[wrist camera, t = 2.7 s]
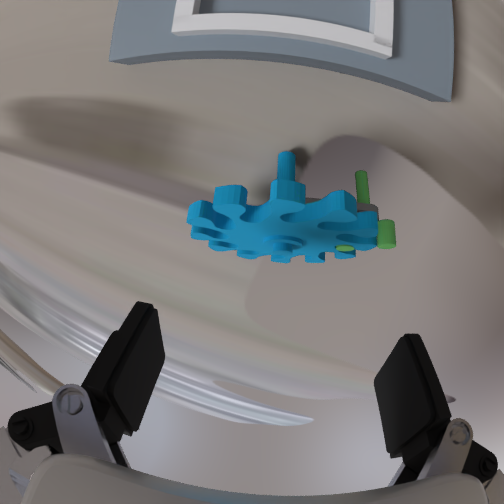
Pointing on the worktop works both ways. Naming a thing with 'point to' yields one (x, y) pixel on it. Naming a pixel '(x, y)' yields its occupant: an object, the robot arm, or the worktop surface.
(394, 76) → the plate
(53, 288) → the worktop surface
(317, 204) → the blue cogwheel with peg
